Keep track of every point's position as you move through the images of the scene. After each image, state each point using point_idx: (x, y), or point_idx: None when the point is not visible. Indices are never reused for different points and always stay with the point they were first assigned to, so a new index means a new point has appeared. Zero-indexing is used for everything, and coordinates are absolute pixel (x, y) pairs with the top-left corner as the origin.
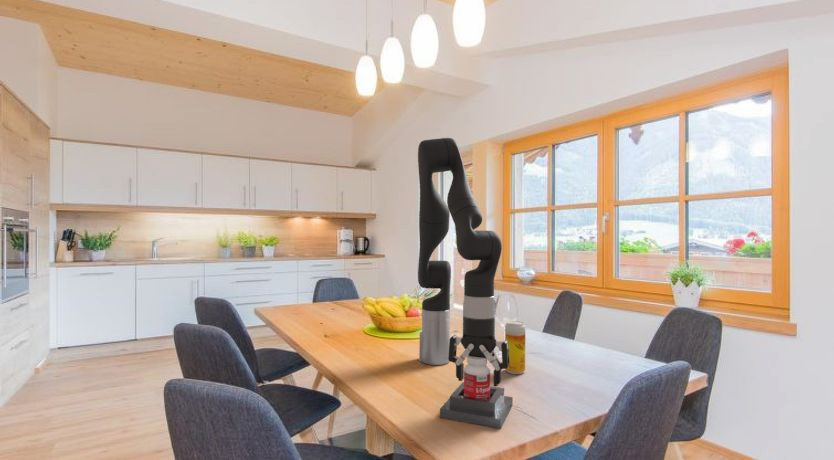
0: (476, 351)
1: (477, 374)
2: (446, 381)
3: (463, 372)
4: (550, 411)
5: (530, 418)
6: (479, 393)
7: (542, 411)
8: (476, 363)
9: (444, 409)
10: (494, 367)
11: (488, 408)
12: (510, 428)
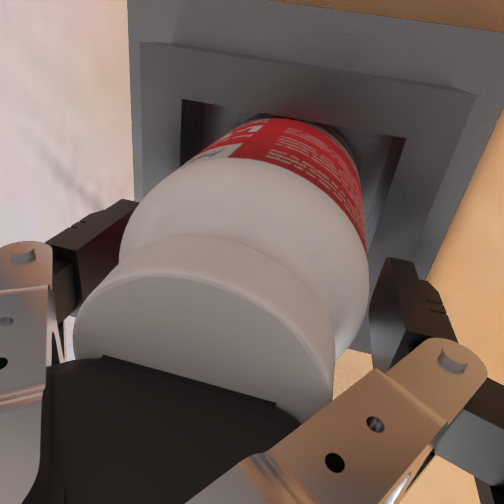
0: (166, 449)
1: (215, 161)
2: (438, 460)
3: (371, 337)
4: (23, 238)
5: (65, 157)
6: (242, 127)
7: (45, 233)
8: (193, 238)
9: (497, 36)
10: (46, 260)
11: (195, 48)
12: (112, 13)
